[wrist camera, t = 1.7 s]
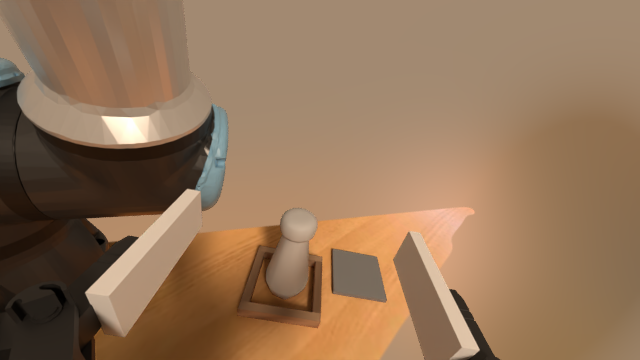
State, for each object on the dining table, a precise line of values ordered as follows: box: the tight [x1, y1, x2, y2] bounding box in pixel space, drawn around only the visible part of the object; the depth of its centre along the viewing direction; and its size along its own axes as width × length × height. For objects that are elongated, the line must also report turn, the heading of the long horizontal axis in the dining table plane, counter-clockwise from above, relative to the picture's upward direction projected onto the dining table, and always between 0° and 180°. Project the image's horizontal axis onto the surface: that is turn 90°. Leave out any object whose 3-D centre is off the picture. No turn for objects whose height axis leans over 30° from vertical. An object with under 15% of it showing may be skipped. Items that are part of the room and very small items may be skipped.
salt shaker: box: [266, 208, 317, 300], centre depth 29 cm, size 6×6×13 cm
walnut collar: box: [237, 246, 322, 328], centre depth 32 cm, size 10×10×2 cm
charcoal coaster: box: [332, 249, 387, 302], centre depth 37 cm, size 8×8×1 cm
